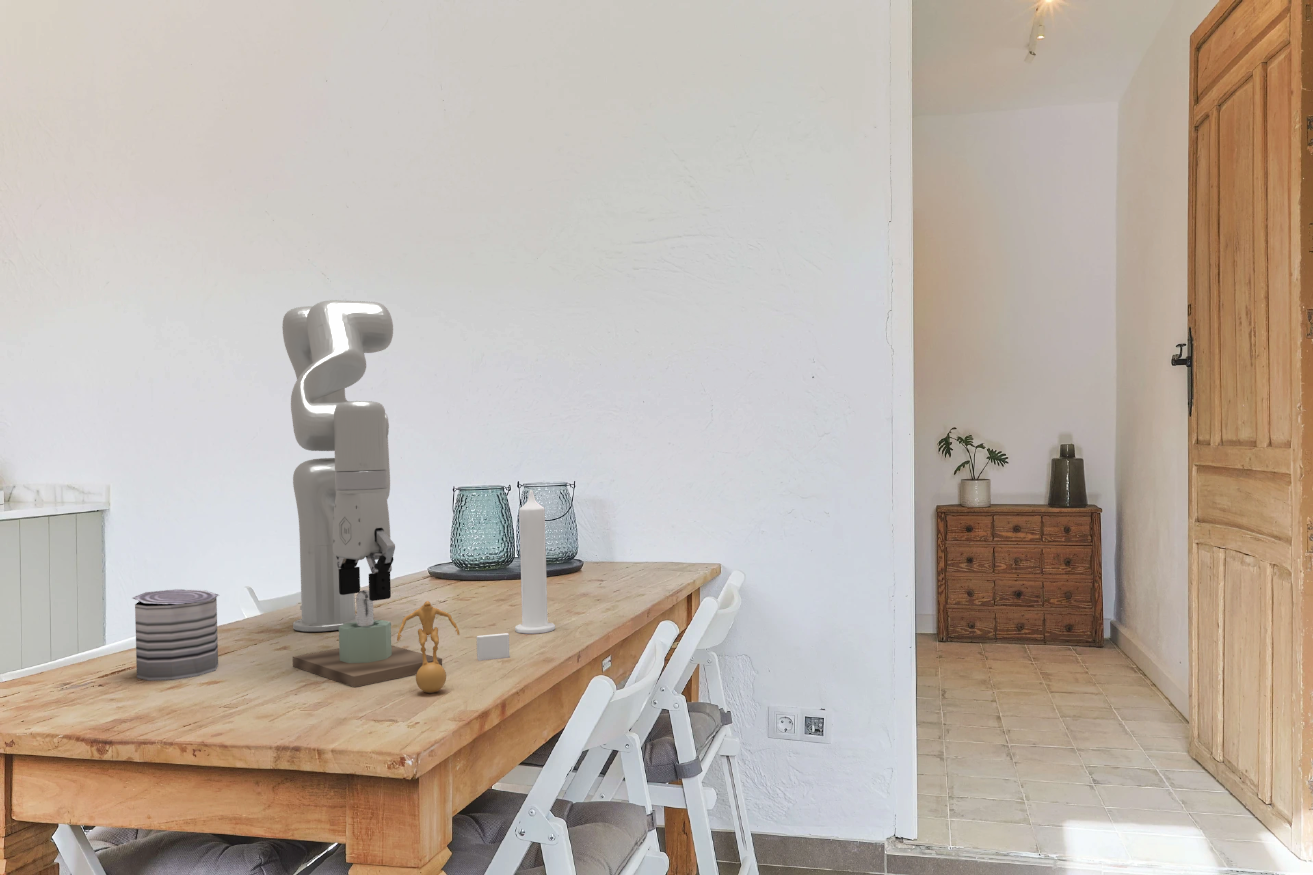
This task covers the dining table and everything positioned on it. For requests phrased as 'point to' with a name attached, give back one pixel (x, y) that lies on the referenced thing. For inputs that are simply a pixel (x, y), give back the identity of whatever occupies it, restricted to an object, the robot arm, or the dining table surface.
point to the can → (176, 634)
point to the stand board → (362, 666)
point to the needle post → (364, 609)
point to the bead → (365, 642)
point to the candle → (533, 569)
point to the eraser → (493, 646)
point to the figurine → (429, 673)
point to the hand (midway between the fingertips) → (364, 596)
